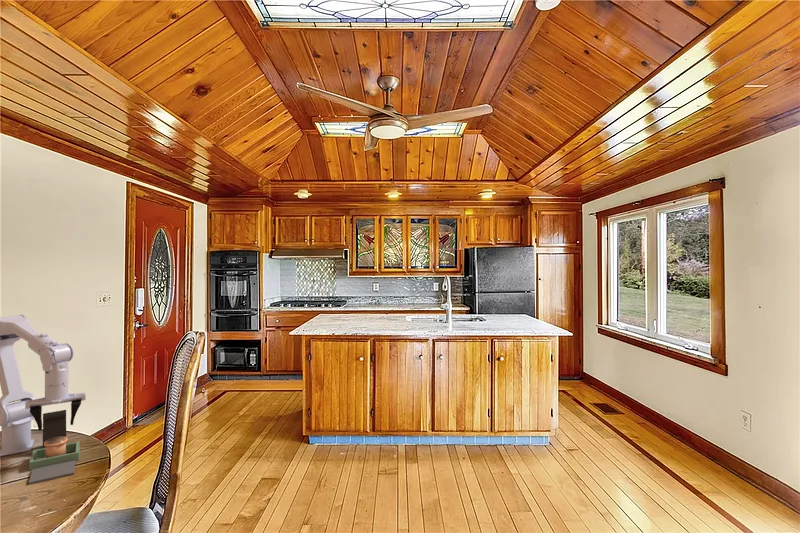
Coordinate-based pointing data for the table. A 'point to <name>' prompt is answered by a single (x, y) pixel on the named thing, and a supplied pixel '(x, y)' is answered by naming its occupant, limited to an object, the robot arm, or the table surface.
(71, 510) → the table surface
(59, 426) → the phone stand
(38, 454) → the frame
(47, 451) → the terracotta pot
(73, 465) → the slate mat
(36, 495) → the table surface
